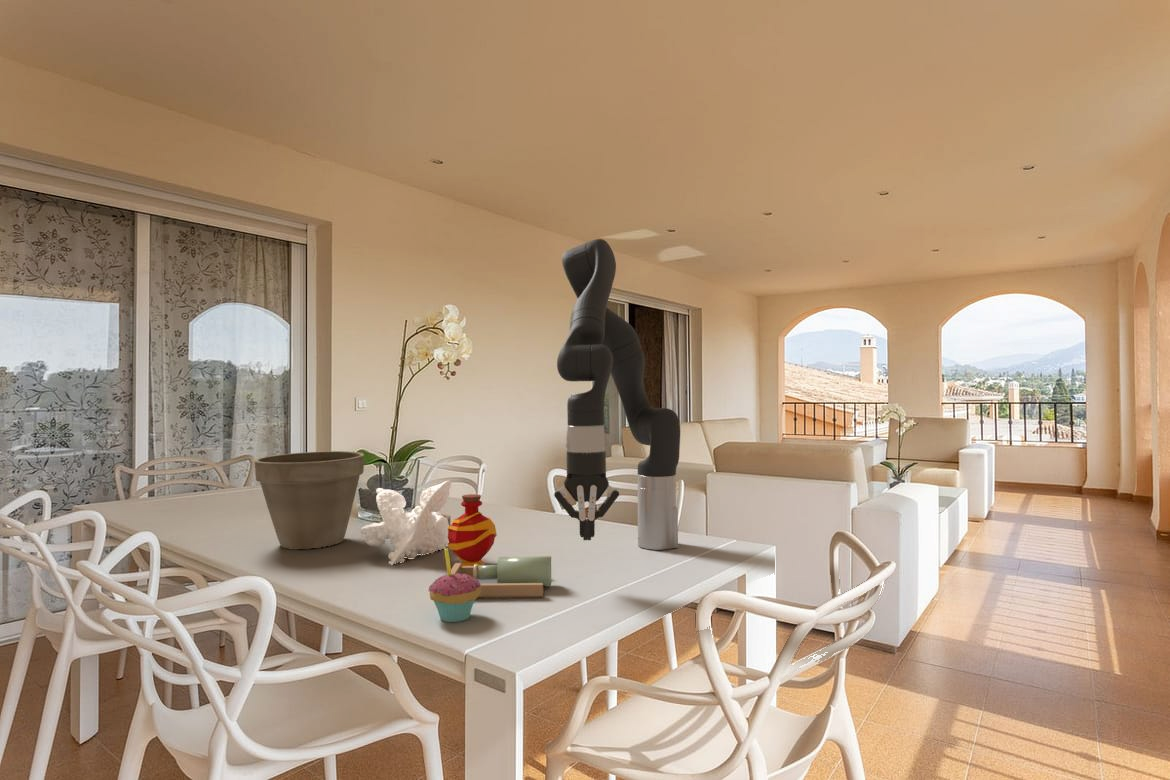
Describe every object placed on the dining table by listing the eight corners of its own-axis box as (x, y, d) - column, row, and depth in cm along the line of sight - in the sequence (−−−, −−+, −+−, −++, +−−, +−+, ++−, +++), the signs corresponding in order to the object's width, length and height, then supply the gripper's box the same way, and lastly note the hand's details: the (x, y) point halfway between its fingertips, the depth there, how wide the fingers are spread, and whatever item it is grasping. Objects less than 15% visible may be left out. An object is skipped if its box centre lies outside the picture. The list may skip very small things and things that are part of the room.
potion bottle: (474, 574, 133) (473, 501, 133) (437, 567, 138) (437, 497, 138) (506, 563, 141) (506, 494, 141) (470, 556, 147) (470, 490, 147)
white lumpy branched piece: (468, 504, 163) (444, 470, 146) (459, 584, 152) (432, 557, 136) (395, 507, 165) (364, 474, 148) (382, 586, 154) (346, 560, 138)
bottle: (551, 552, 127) (476, 553, 126) (550, 561, 121) (472, 561, 121) (551, 580, 127) (476, 581, 126) (550, 589, 121) (472, 590, 121)
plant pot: (257, 561, 144) (256, 463, 144) (252, 539, 165) (252, 454, 165) (373, 547, 156) (373, 457, 156) (354, 528, 178) (354, 449, 178)
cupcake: (418, 622, 105) (418, 548, 105) (447, 606, 113) (447, 537, 113) (464, 629, 102) (464, 553, 102) (491, 612, 110) (490, 541, 110)
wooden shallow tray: (545, 577, 131) (545, 562, 131) (542, 598, 118) (542, 581, 118) (455, 578, 130) (455, 563, 130) (442, 599, 117) (442, 582, 117)
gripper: (619, 446, 128) (619, 534, 128) (551, 447, 128) (552, 535, 128) (622, 450, 121) (623, 543, 121) (551, 451, 120) (552, 544, 120)
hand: (587, 539), depth 124 cm, fingers closed
